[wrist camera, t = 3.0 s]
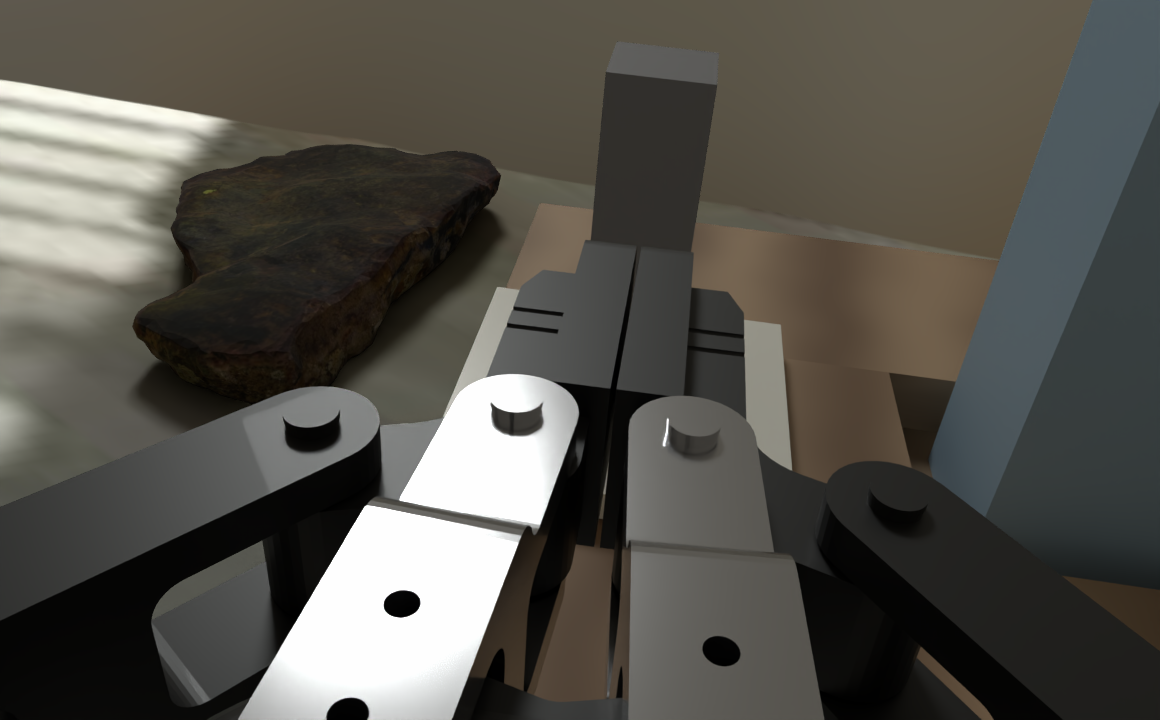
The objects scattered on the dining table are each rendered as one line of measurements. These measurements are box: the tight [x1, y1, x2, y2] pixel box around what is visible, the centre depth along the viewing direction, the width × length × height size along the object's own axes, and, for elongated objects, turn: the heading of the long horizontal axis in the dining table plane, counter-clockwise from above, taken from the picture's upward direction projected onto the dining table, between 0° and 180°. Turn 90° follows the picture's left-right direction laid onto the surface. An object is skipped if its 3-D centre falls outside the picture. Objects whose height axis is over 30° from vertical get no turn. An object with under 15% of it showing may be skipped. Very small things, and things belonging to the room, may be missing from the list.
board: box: [506, 203, 1160, 720], centre depth 29 cm, size 21×23×2 cm
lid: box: [443, 42, 792, 519], centre depth 24 cm, size 9×9×10 cm
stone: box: [132, 144, 501, 404], centre depth 37 cm, size 18×11×3 cm, turn 161°
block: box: [928, 0, 1160, 590], centre depth 23 cm, size 5×5×15 cm
